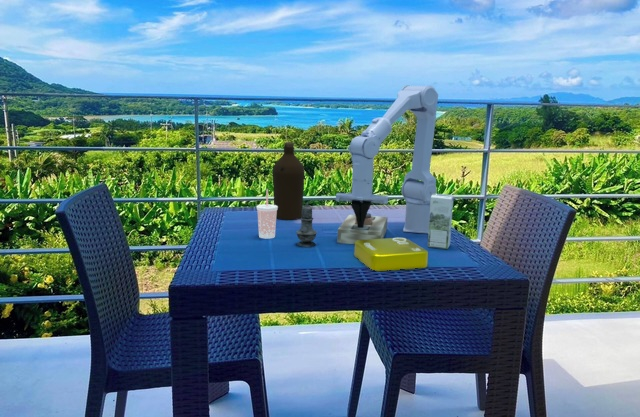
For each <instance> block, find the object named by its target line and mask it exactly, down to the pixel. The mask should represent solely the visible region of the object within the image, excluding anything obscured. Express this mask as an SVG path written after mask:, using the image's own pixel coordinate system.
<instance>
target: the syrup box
mask: <svg viewBox="0 0 640 417" xmlns="http://www.w3.org/2000/svg"><path fill="white" fill-rule="evenodd" d="M454 196H455V195H453V194H442V193H436V194H432V196H431V200H430V216H429V232H428V233H427V236H428V238H427V248H432V249H433V248H434V249H440V250H442V249H444V250H448V249H449V247H450V245H451V233H452V221H453V208H454V207H453V206H454Z"/></svg>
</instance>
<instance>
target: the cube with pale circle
mask: <svg viewBox="0 0 640 417" xmlns="http://www.w3.org/2000/svg"><path fill="white" fill-rule="evenodd" d="M353 229H355V230H369V228H368V227H367V226H363V228H358V225H356V226H354V228H353Z"/></svg>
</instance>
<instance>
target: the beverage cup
mask: <svg viewBox="0 0 640 417" xmlns="http://www.w3.org/2000/svg"><path fill="white" fill-rule="evenodd" d="M265 191H266V192H265V193H266V196H265V200H266V202H265V203H264V204H257V205H256V211H257V226H258V236H259V237H258V238H260V239H266V240H267V239H268V240H269V239H274V238H275V237H276V228H277V227H276V225H277V224H276V223H277V218H276V214H277V208H278V206H276V205H274V204H270V203H269V189H268V188H267V189H265Z"/></svg>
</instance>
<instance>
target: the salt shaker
mask: <svg viewBox="0 0 640 417" xmlns="http://www.w3.org/2000/svg"><path fill="white" fill-rule="evenodd" d="M299 220H301V221H300V223H301V224H300V229H298V230H296V231H295V233H296V236H297V239H299V241H298V242H297V243H296V245H297V246H298V247H302V248H312V247H315V246H316V245H317V244H316V242H315V241H314V240H315V239H316V236H317V234H318V231H317V230H314V228H313V227H314V226H313V220H314V217H313V207H312V206H311V205H310V204H309V202H306V203H305V204H304V205H303V207H302V217H301V218H300V219H299Z"/></svg>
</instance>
